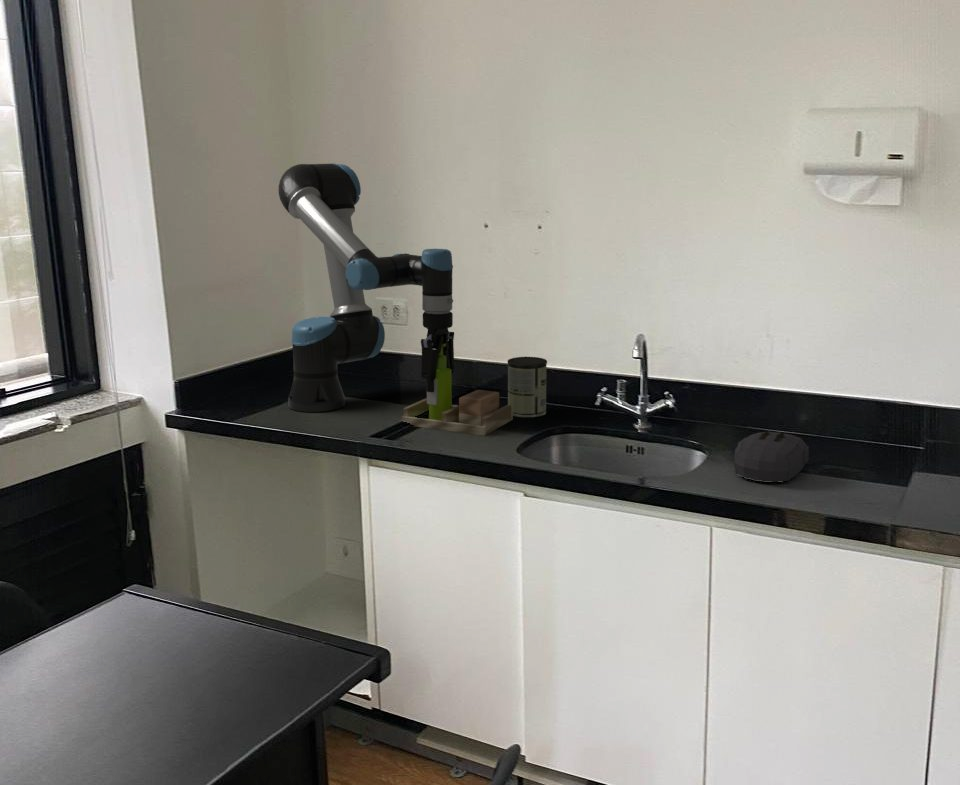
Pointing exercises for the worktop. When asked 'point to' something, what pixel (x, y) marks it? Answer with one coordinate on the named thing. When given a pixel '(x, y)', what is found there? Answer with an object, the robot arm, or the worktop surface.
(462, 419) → the lower offcut
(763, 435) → the slotted dark dome
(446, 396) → the soap dispenser
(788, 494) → the worktop surface
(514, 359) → the coffee can
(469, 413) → the upper offcut
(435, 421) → the rack
